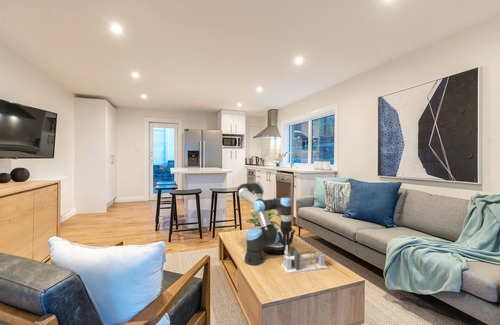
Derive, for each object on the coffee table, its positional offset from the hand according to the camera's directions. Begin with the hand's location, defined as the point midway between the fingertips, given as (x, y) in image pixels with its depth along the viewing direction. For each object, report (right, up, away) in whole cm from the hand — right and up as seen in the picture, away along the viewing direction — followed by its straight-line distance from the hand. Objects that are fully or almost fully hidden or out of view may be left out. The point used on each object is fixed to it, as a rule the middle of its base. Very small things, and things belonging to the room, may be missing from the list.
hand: (286, 253), depth 162 cm
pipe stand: (+13, -11, +3) cm, 17 cm away
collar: (+6, -9, +2) cm, 11 cm away
